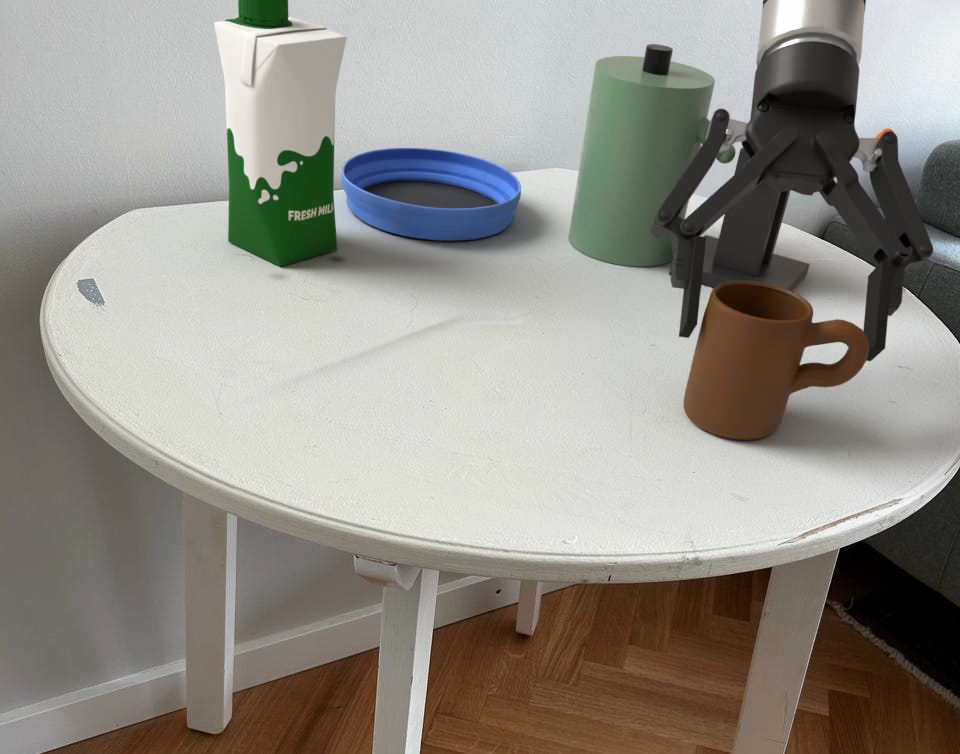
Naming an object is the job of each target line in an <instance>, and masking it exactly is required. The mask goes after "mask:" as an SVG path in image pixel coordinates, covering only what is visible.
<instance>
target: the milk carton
mask: <svg viewBox="0 0 960 754" xmlns="http://www.w3.org/2000/svg"><path fill="white" fill-rule="evenodd" d="M237 2H238V3H237V6H238V8H237V9H238V10H237V11H238V17H234V18H227V19H225V20H220V21H214V24H213V25H214V30H215V31H214V32H215V36H216V41H217V46H218V47H217V48H218V51H219V57H220V63H221V67H222V73H223V81H224V92H225V93H224V94H225V113H226V116H225V117H226V142H227V168H228V170H227V171H228V228H227V229H228V233H227V235H228V236H227V241H228V243H230V244H233V245H234V246H237V247H238V248H240V249H243V250H245V251H247V252H249V253H251V254H253V255H255V256H257V257H260V258H261V259H263V260H265V261H268V262H269V263H271V264H274V265H276V266H278V267H284V266H287V265H290V264H295V263H297V262H300V261H304V260H308V259H311V258H314V257H318V256H321V255H324V254H325V255H326V254H328V253H332V252H335V251H338V241H337V240H338V239H337V227H336V226H337V225H336V224H337V223H336V212H335V211H336V210H335V193H334V192H335V191H334V190H335V189H334V184H335V180H334V179H335V133H336V131H335V129H336V93H337V85H338V79H339V76H340V71H341V67H342V62H343V57H344V52H345V49H346V45H347V44H346V43H347V38H348V36H346V35H344V34H341V33H337V32H335V31H332V30H329V29H327V27H326V26H324V25H321V24H315V23H312V22H308V21H305V20H302V19H299V18H296V17H292V16H289V0H237Z"/></svg>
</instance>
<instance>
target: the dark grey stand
mask: <svg viewBox="0 0 960 754" xmlns="http://www.w3.org/2000/svg"><path fill="white" fill-rule="evenodd" d="M749 160H750V159H749V157H748V155H747V153H746V152H745V150H744V148H743V147H741V148H740V149H739V153H738V157H737V161H736V166H735V170H734V174H733V176H734V175H735V174H736V173H737V172H738V171H739V170H740V169H742V168H743V167H744V166H745V164H746V163H747V162H748V161H749ZM791 191H792V190H790V191H782V192H780V191H772V190H771V187H770V186H768V185H767V184H765V183H764V181H763V182H762V183H760V184H759V185H758V186H757V187H756V188H755V189H754V190H753V191H752V192H750V193H749V194H748V195H745V196H744V197H743V198H742V199H741V200H740V201H739V202H737V203H736V204H735V205H734V206H733V207H732V208H731V209H730V210H729V211H727V212H726V213H725V214H724V215H723V219H722V224H721V228H720V233H719V236H718V237H715V236H712V235H708V234H705V235H704V236H703V237H706V244H705V254H704V263H703V273H702V282H701V285H702V286H707V287H709V288H710V287H711V288H712V289H714V288H715V287H716V286H717V285H719V284H721V283H724V282H729V281H755V282H762V283H767V284H771V285H775V286H779V287H782V288H785V289H787V290H790V291H792V292H794V290H795V289H796V288H797V287H798V286H799V284H801V283H802V282H803V280H804V279H805V278H806V277H807V276H808V272H809V269H810V265H811V263H808V262H804V261H801V260H798V259H795V258H790V257H786V256H782V255H781V254H780V255H779V254H775V253H774V252H775V249H776V245H777V241H778V237H779V235H780V230H781V226H782V223H783V219H784V216H785V213H786V209H787V205H788V202H789V198H790V195H791ZM671 271H672V262H670V268H669V272H668V275H670V276H671Z"/></svg>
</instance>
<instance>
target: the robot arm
mask: <svg viewBox="0 0 960 754" xmlns="http://www.w3.org/2000/svg"><path fill="white" fill-rule="evenodd" d="M866 3H867V0H762V10H761V19H760V26H759V27H760V28H759V36H758V44H757V50H756V52H757V53H756V69H755V73H754V79H753V89H752V90H753V91H752V98H751V99H752V100H751V109H750V117H749V118H750V119H749V121H748V122H745V121H740V120H738V119H737V120H736V119H732V118H730V112H729V111H727V109H725V108H718V109H715V111H714V113H713V114H712V116H711V119H710V124H709V126H708V129H707V131H706V134H705V138H704V143H703V144H701V148H700V149H699V151H698V152H697V154H696V155H695V157H694V158H693V160H692V161H691V163H690V164H689V165H688V167H687V168H686V170H685V171H684V173H683V174H682V176H681V177H680V179H679V180H678V182H677V183H676V185H675V186H674V188H673V189H672V191H671V192H670V194H669V195H668V197H667V198H666V200H665V201H664V203H663V204H662V205H661V207H660V208H659V210H658V212H657V214H656V217H655V219H654V222H653V224H652V227H651V233H652V235H653V236H654V237H656V238H662V237H663V238H665V239H667V240H669V241H670V242H671V243H672V249H673V251H674V253H673V260H672V261H671V263H672V271H671V275H670V284H671V288H674V289H681V290H683V293H682V303H681V312H680V319H679V320H680V321H679V331H678V337H679V338H685V339H689V338H690V337H691V335H692V334H693V332H694V330H695V329H696V327H697V325H698V321H699V310H700V309H699V308H700V301H701V291H702V284H701V282H702V273H703V263H704V254H705V244H706V237H704V236H702V235H703V234H704V233H705V232H707V231H708V230H709V229H710V228H711V227H713V225H714V224H715V223H716V222H718V221H719V220H720V219H721V218H722V217H724V215H725V213H726V212H727V211H729V210H730V209H731V208H732V207H733V206H734V205H735V204H736V203H737V202H739V201H740V200H741V199H742V198H743V197H744V196H745V195H748V194H749V193H750V192H752V191H753V190H754V189H755V188H756V187H757V186H758V185H759V184H760V183H762V182H763V181H764V183H765V184H767V185H768V186H770V187H771V190H772V191H780V192H782V191H790V190H791V191H793V192H795V193H797V194H800V195H803V196H813V195H814V193H819V195H820V196H821V198H823V200H824V201H825V202H826V204H827V205H828V206H830V207H833V208H834V209H835V210H836V212H837V213H838V214H839V216H840V218H841V219H842V220H843V222H844V223H845V224H846V226H847V227H848V229H849V230H850V232H851V233H852V234H853V236H854V237H855V239H856V240H857V241H858V243H859V245H860V246H861V248H863V250H864V252H865V253H866V254H867V256H868V257H869V259H870V260H871V261H872V263H873V264H874V266H875V268H873V270H871V272H870V273H869V274H868V275H867V285H866V286H867V287H866V297H865V307H864V320H863V328H862V330H863V332H864V334H865V335H866V337H867V339H868V344H869V353H868V357H867V360H866V362H872V361H873V360H874V359H875V358H876V357H878V356H879V355H880V354H881V353H882V352H883V351H884V350H885V349H886V341H887V332H888V330H887V329H888V320H889V317H891V316H893V315H894V313H896V312H897V311H898V309H900V306H901V305H902V303H903V294H904V293H903V292H904V291H903V289H904V281H905V280H904V279H905V272H906V271H910V272H915V271H917V270H918V269H919V268H920V267H921V266H922V265H923V264H924V263H925V262H926V261H927V260H929V258H930V257H931V256H932V255H933V253H934V246H933V244H932V241H931V239H930V236H929V233H928V231H927V228H926V226H925V224H924V221H923V218H922V216H921V213H920V211H919V208H918V206H917V204H916V201H915V199H914V197H913V194H912V191H911V188H910V186H909V184H908V181H907V179H906V176H905V174H904V172H903V169H902V167H901V164H900V162H899V139H898V135H897V134H896V133H895V132H894V133H893V132H891V131H888V132H885V133H884V134H883V135H882V136H881V138H879V139H875V137H874V138H871V137H869V138H867V137H859V135H858V133H857V130H856V126H855V123H856V122H855V121H856V114H857V103H858V92H859V82H860V66H859V65H860V63H861V59H862V51H863V39H864V37H863V36H864V24H865V12H866ZM735 143H741V146H742V148H744V150H745V152H746V153H747V155H748V157H749V159H750V160H749V161H748V162H747V163H746V164H745V166H744V167H743V168H742V169H740V170H739V171H738V172H737V173H736V174H735V173H734V174H735V175H734V174H733V175H732V176H731V177H730V178H729V179H728V180H727V181H726V182H724V183H723V184H722V185H721V186H720V187H719V188H718V189H716V191H714V192H713V194H711V195H710V196H709V197H708V198H707V199H706V200H704V201H703V202H702V203H701V204H700V205H699V206H698V207H696V208H695V209H694V211H692V212H691V213H690V214H689V215H688V216H687V217H685V220H684V219H682V218H680V217H678V215H679V214H680V212H681V211H682V209H683V208H684V206H685V205H686V204H687V202H688V201H689V202H690V199H691V197H693V195H694V193H695V192H696V190H697V189H698V187H699V186H700V184H701V183H702V181H703V179H705V177H706V175H707V174H708V172H709V171H710V169H711V168H712V166H713V165H714V163H715V161H716V160H717V159H716V157H717V154H718V152H720V153H723V152H725V151H728V150H729V149H730V148H731V146H732V145H733V146H734V144H735ZM853 158H857V159H859V160H860V162H861V164H862V166H863V167H862V170H863V171H864V173H869V180H870V183H871V187H872V190H873V192H874V195H875V197H876V201H877V202H878V205H879V207H880V209H881V211H880V210H879V209H878V207H877V206H876V204H875V203H874V202H873V199H871V197H870V196H869V194H868V193H867V192H866V190H865V189H864V187H863V186H862V185H861V183H860V181H859V174H858V172H857V170H856V169H855V167H854V166H853V165H852V163H851V161H852V160H853ZM835 178H836V181H835ZM791 191H790V192H791ZM689 202H688V203H689ZM881 212H882V213H881Z"/></svg>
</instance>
